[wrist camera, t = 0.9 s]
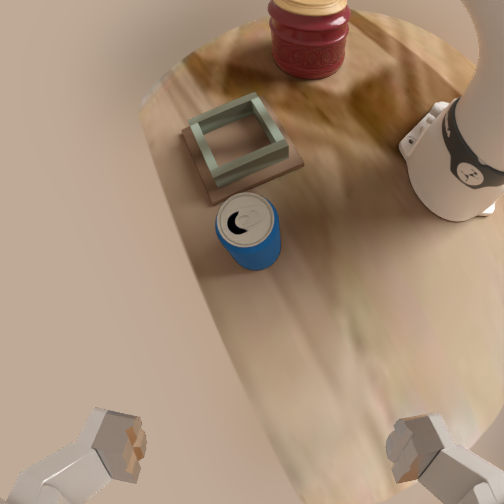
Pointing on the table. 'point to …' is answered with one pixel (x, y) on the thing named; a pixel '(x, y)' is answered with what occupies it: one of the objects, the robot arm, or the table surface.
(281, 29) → the canister
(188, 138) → the cradle
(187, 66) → the table surface
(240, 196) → the beverage can
